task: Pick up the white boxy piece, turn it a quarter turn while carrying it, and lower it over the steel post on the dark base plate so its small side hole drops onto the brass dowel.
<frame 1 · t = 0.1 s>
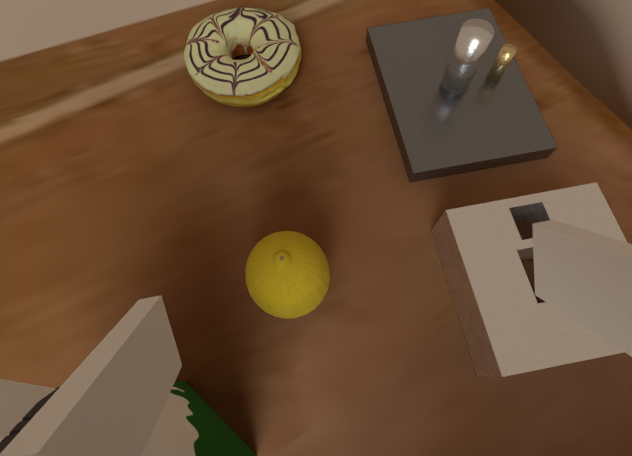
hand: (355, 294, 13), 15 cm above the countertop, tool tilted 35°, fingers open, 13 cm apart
white boxy piece: (524, 284, 28), on the countertop
lemon: (293, 288, 29), on the countertop
decorated donut: (247, 72, 37), on the countertop
fixture: (449, 94, 35), on the countertop
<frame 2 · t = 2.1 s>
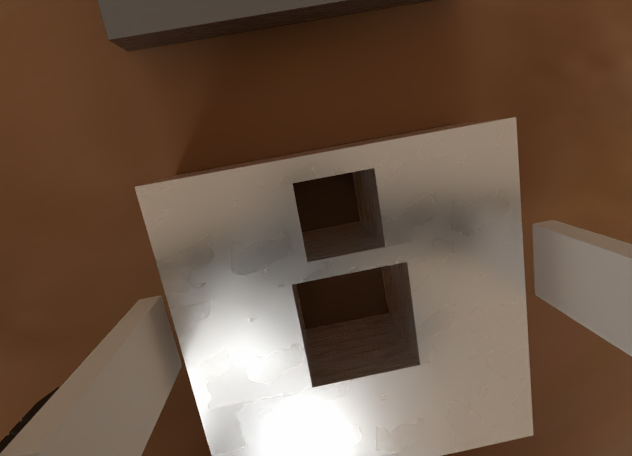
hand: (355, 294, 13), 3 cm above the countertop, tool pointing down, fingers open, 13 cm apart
white boxy piece: (340, 281, 16), on the countertop
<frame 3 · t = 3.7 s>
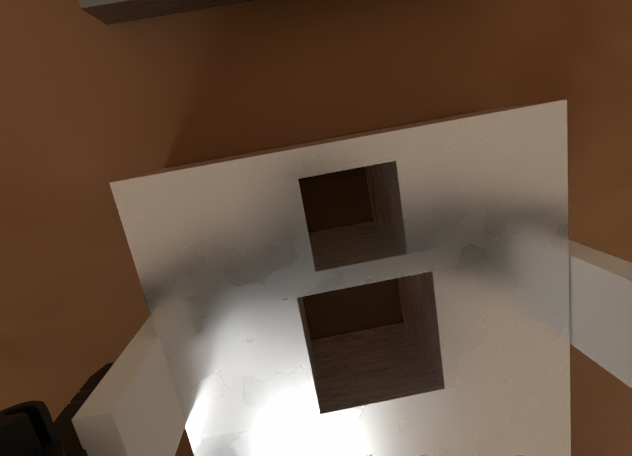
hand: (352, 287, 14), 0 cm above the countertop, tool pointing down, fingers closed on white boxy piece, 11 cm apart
white boxy piece: (350, 288, 14), on the countertop, touching gripper
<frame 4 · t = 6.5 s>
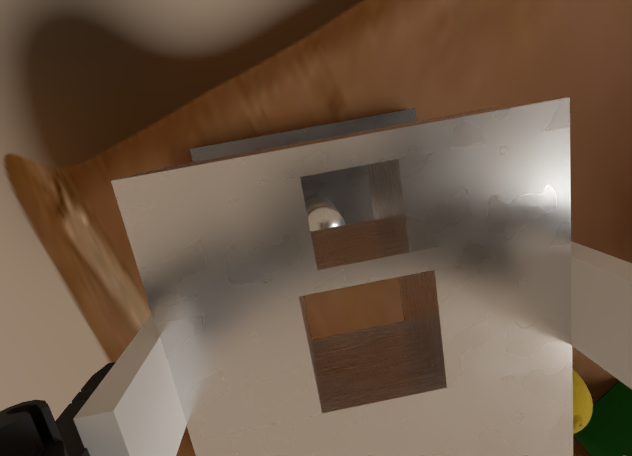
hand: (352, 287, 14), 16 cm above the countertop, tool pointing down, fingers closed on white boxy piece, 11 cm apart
white boxy piece: (351, 287, 14), point 16 cm above the countertop, touching gripper
lemon: (512, 358, 34), on the countertop
milk carton: (615, 419, 37), on the countertop
fixture: (316, 207, 29), on the countertop
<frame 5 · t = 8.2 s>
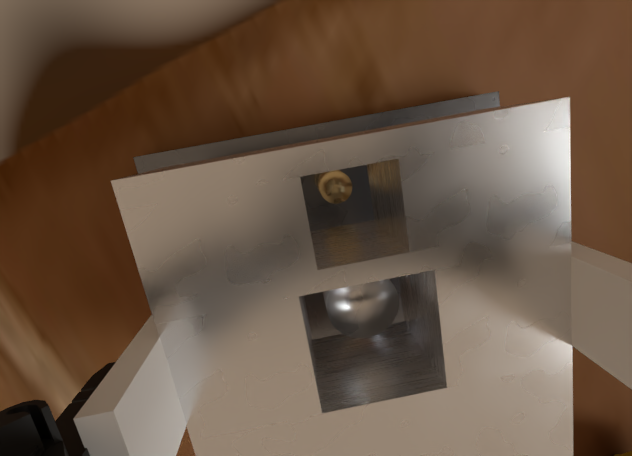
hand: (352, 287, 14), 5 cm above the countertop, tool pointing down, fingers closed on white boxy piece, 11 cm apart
white boxy piece: (351, 287, 14), point 5 cm above the countertop, touching gripper
lemon: (612, 454, 24), on the countertop
fixture: (336, 245, 19), on the countertop
when the fingers open (2 cm above the countertop, at t = 9.3 s): white boxy piece stays where it is, resting on fixture.
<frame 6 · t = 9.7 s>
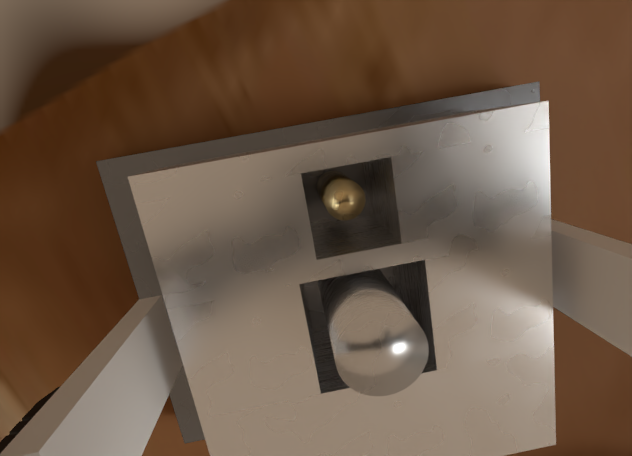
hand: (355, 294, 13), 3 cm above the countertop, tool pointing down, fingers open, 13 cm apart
white boxy piece: (349, 279, 15), point 1 cm above the countertop, touching fixture
fixture: (342, 264, 16), on the countertop
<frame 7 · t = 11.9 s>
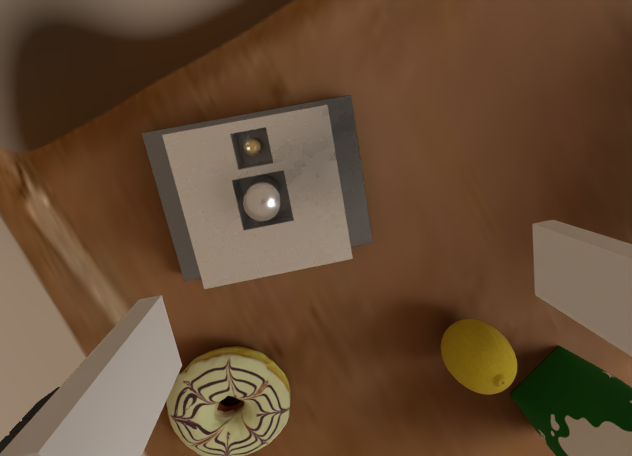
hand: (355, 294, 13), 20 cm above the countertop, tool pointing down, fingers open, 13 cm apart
white boxy piece: (265, 192, 30), point 1 cm above the countertop, touching fixture
lemon: (454, 330, 37), on the countertop
decorated donut: (232, 386, 36), on the countertop
milk carton: (553, 386, 40), on the countertop
fixture: (265, 188, 32), on the countertop
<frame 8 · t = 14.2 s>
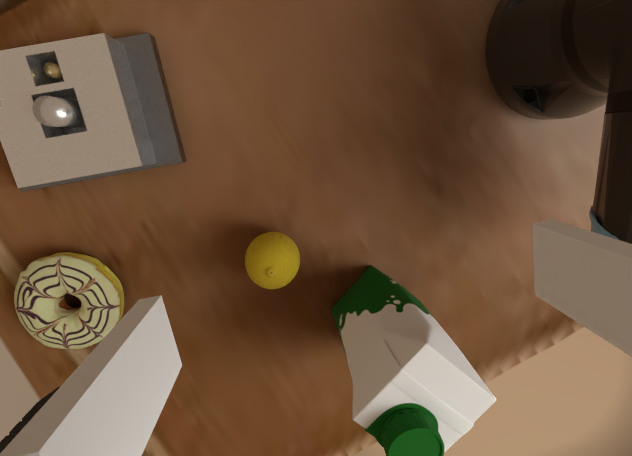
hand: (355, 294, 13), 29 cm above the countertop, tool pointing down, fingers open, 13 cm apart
white boxy piece: (83, 115, 36), point 1 cm above the countertop, touching fixture
lemon: (273, 247, 43), on the countertop
decorated donut: (81, 292, 42), on the countertop
milk carton: (372, 303, 45), on the countertop
fixture: (90, 115, 38), on the countertop
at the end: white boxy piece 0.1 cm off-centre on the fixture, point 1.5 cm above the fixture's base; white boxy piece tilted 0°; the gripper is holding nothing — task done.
